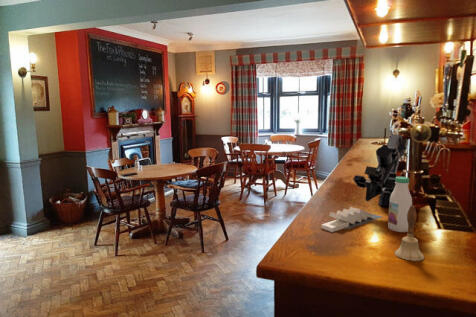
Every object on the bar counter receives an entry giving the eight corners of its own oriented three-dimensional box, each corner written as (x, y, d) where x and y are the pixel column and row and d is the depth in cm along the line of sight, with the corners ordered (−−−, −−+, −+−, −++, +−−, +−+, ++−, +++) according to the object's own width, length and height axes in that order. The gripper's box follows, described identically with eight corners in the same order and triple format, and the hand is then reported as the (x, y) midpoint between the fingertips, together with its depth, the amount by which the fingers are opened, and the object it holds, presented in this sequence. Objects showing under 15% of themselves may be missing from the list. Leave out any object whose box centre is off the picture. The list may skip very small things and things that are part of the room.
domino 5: (362, 211, 148) (349, 206, 142) (373, 214, 144) (360, 209, 138) (361, 215, 148) (348, 210, 142) (372, 218, 144) (359, 213, 138)
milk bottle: (408, 227, 135) (412, 176, 132) (411, 234, 127) (415, 180, 124) (387, 225, 137) (390, 175, 134) (388, 231, 130) (391, 179, 127)
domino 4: (356, 213, 146) (343, 208, 140) (367, 216, 142) (354, 211, 136) (355, 217, 146) (342, 212, 140) (366, 220, 142) (353, 215, 136)
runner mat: (366, 213, 153) (366, 212, 153) (383, 217, 146) (383, 216, 146) (330, 224, 138) (330, 223, 138) (347, 230, 132) (347, 229, 132)
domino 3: (351, 215, 143) (337, 210, 137) (362, 218, 139) (348, 213, 133) (350, 219, 143) (336, 214, 137) (360, 222, 139) (347, 217, 133)
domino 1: (344, 217, 141) (330, 211, 135) (355, 220, 137) (341, 215, 131) (343, 221, 141) (329, 215, 135) (354, 224, 137) (339, 219, 131)
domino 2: (338, 219, 139) (321, 224, 133) (349, 222, 135) (332, 228, 129) (338, 223, 139) (321, 228, 133) (348, 226, 135) (332, 232, 129)
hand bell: (389, 250, 113) (392, 202, 111) (414, 249, 114) (417, 202, 112) (403, 262, 105) (407, 210, 103) (430, 260, 106) (434, 209, 103)
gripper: (356, 156, 153) (339, 185, 148) (397, 161, 138) (380, 193, 133) (366, 172, 159) (350, 200, 154) (406, 179, 144) (390, 209, 139)
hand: (366, 200), depth 145 cm, fingers closed
